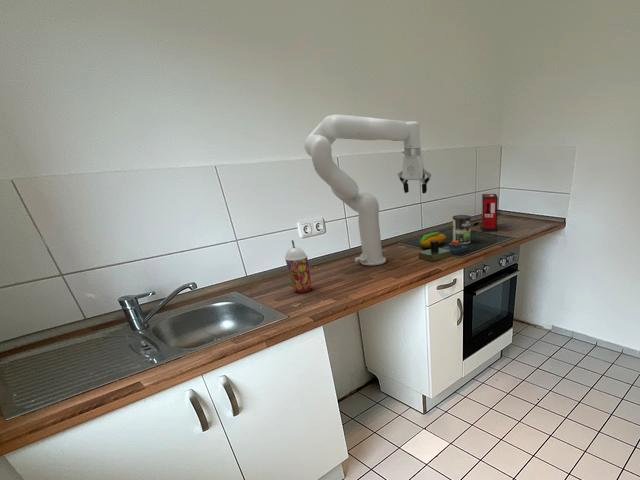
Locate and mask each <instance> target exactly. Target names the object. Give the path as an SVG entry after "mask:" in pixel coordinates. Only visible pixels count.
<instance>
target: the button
mask: <svg viewBox="0 0 640 480" xmlns="http://www.w3.org/2000/svg"><path fill="white" fill-rule="evenodd" d="M451 243H452V244H453V245H458V244H459V241H458V240H453V239H452V240H451Z"/></svg>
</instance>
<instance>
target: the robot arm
mask: <svg viewBox="0 0 640 480" xmlns="http://www.w3.org/2000/svg"><path fill="white" fill-rule="evenodd" d="M420 130H421V129H420V124H419V122H418V121H413V120H411V121H405V120H400V119H399V120H398V119H388V118H377V117H370V116H358V115H348V114H338V113H337V114H335V113H334V114H330V115H327V116H325V117H324V118H323V119H322V120H321V121H320V123H318V124H317V126H316V127H315V128H314V129H313V130H312V131H311V132H310V134H309V135H308V136H307V137H306V138H305V140H304V144H303V146H304V150H305V152H306V154H307V155H308V156H309V157H311V162H312V166H313V168H314V171H315V173H316V174H317V175H318V177H319V178H321V180H322V181H323V182H324V183H326V184H327V185H328V186H329V187H330V189H331V192H332V193H333V194H334V196H335V197H337V198H338V199H339V200H340V201H341V202H343V203H344V204H345V205H347V206H348V207H349V208H350V210H351V209H352V211H354V212H356V213H357V214H358V230H359V237H360V238H359V239H360V245H361V251H362V252H361V253H360V255H359V256H357V257H354V259H353V260H354V262H355V263H357V262H359V263H360V264H361V265H362V266H379V265H383V264H385V263H386V262H387V258H386V257H385V256H383V247H382V238H381V237H382V236H381V230H380V229H381V228H380V215H379V214H380V205H379V201H378V199H377V198H376V197H375V195H373V194H371V193H369V192H366V191H362V190H361V189H360V188H359V185H358V183H357V182H356V180H354V179H353V178H352V177H351V176H350V175H349V174H347V173H346V172H345V171H344V170H343V169H341V168H340V167H339V165H338V164H336V162H335V161H334V159H333V156H332V155H333V154H332V151H333V150H332V145H333V143H334V142H335V141H336V140H337V139H340V140H358V141H381V140H382V141H391V142H392V141H394V142H403V149H402V152H401V153H402V154H403V157H402V166H401V167H402V170H401V171H399V172H398V173H397V176H398V178H399V181H400V182H401V183H402V185H403V191H404V194H407V193H409V192H410V191H409V183H408V182H409V181H420V182H421V193H422V194H427V191H428V186H427V185H428V183H429V181H431V177H432V173H431V172H429V171H427V170H426V168H425V162H424V157H423V155H422V150H421V149H422V148H421V133H420V132H421V131H420Z"/></svg>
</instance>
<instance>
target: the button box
mask: <svg viewBox="0 0 640 480" xmlns="http://www.w3.org/2000/svg"><path fill="white" fill-rule="evenodd" d="M442 248H443V249H447V250H451V255H454V256H455V255H458V254H462V253H465V252H469V246H468V245H465V244H461V243H459V244H458V245H453V244H452V242H449V243H448V245H447V246H444V247H442Z"/></svg>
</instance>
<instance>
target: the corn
mask: <svg viewBox="0 0 640 480" xmlns="http://www.w3.org/2000/svg"><path fill="white" fill-rule="evenodd" d="M446 239H447V236H446V235H445V234H443V233H440V231H435V232H430V233H427V234H423V235H422V236H421V237H420V238H419V244H420V247H422V248H423V249H431V242H430V241H432V240H438V242H439V246H440V245H441V243H442V242H444V240H446Z"/></svg>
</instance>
